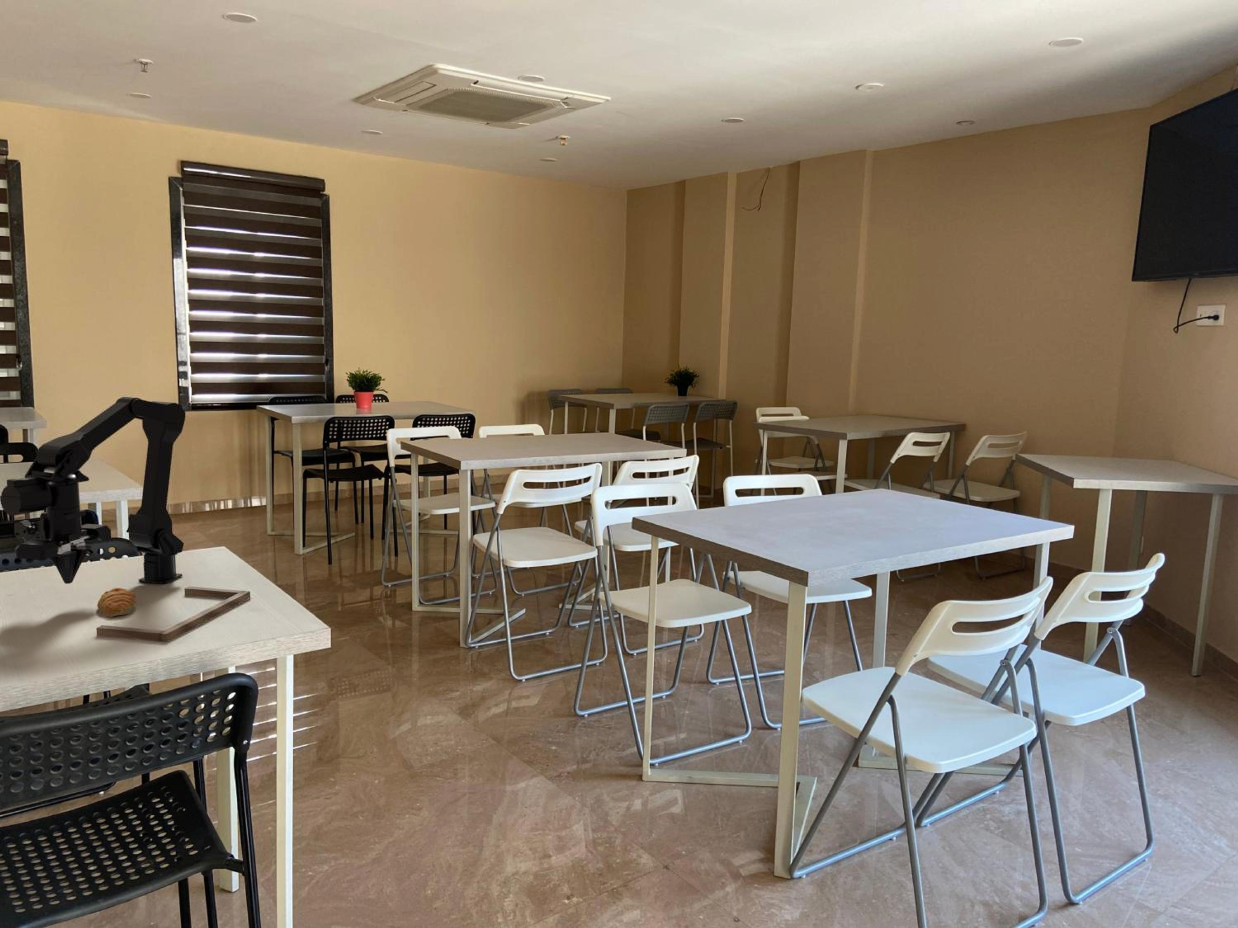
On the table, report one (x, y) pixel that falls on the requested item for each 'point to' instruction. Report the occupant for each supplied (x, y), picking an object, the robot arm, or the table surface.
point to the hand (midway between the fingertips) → (68, 583)
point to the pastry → (116, 602)
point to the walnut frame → (184, 626)
